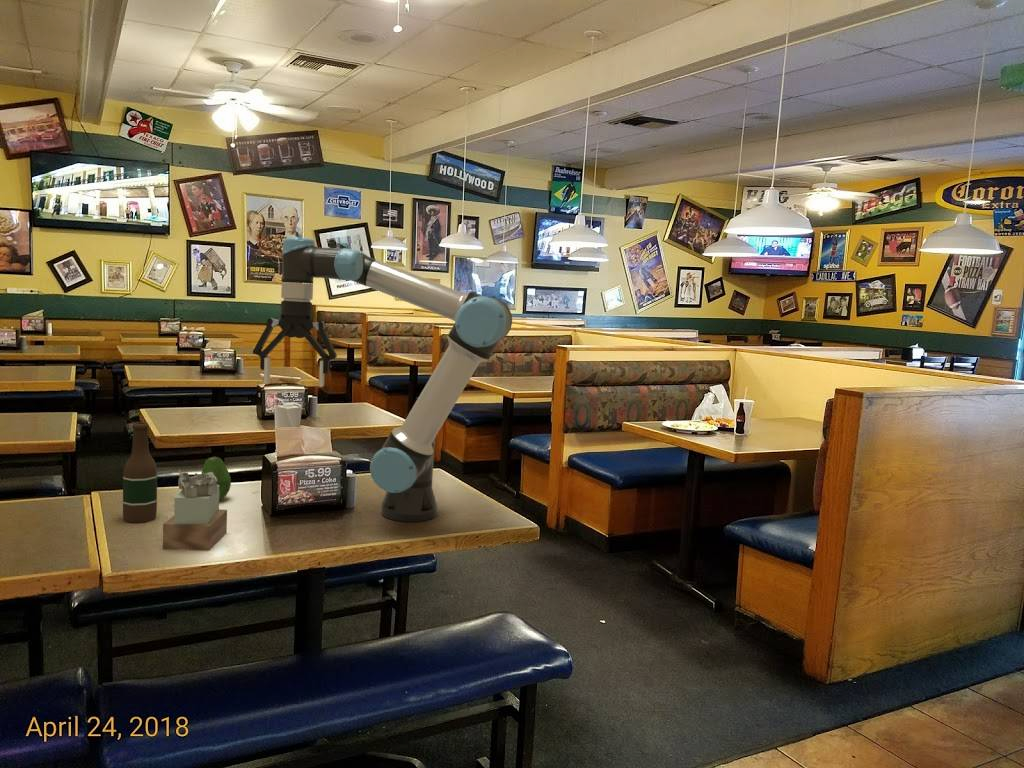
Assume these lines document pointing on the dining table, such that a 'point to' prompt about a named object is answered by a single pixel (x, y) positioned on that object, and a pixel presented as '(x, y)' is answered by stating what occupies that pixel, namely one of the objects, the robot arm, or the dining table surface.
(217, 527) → the tower base block
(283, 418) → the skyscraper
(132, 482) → the beer bottle
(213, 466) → the fruit
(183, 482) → the egg carton
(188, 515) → the tower top block
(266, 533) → the dining table surface
